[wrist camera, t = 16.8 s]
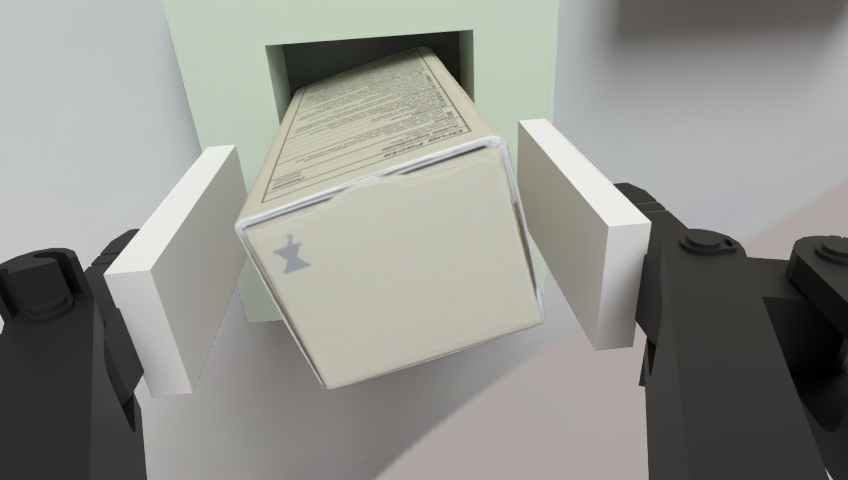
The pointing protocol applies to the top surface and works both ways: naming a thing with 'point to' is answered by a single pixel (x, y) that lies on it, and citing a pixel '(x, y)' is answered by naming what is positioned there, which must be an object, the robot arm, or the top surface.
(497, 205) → the box
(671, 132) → the top surface
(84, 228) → the top surface
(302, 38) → the socket
